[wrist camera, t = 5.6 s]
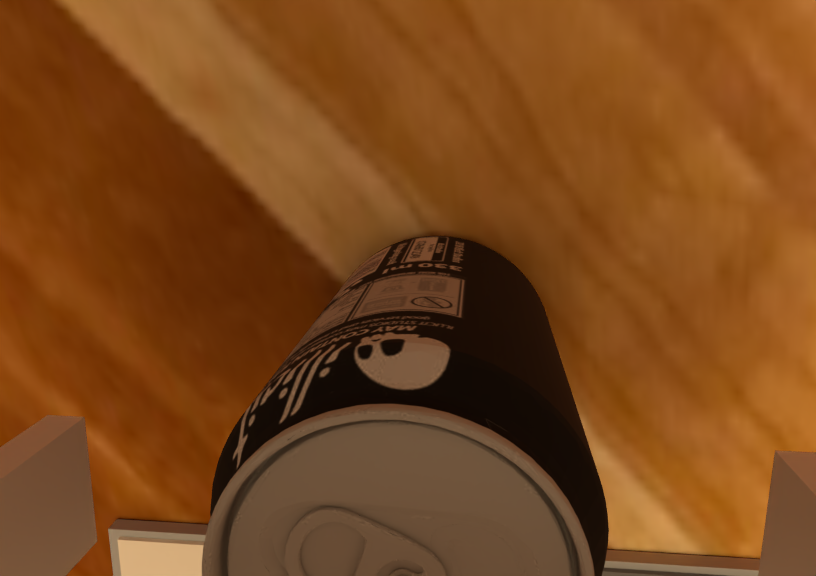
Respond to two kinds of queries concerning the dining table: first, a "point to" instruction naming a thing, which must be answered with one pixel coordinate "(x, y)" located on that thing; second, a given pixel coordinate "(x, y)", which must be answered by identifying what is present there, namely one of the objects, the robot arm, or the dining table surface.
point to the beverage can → (414, 435)
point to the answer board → (183, 543)
